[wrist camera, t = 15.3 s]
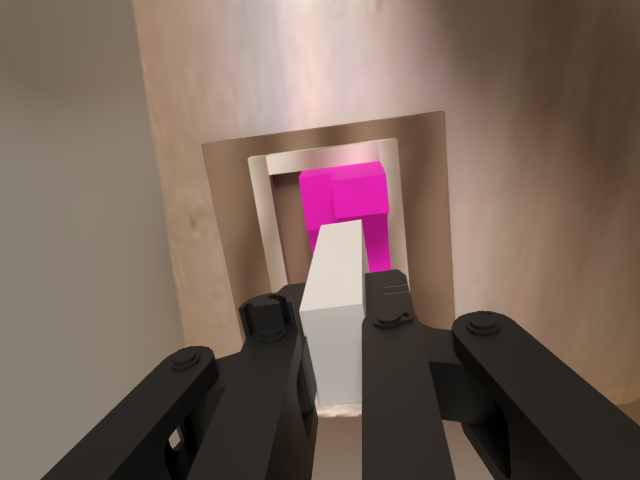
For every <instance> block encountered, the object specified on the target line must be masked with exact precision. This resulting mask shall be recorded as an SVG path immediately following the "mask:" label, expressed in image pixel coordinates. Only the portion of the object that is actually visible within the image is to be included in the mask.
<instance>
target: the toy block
mask: <svg viewBox="0 0 640 480" xmlns="http://www.w3.org/2000/svg"><path fill="white" fill-rule="evenodd" d="M299 183H300V190H301V196H302V203H303V210H304V216H305V223H306V230H307V233H308V236H309V240H310V245H311V249H312V255H314V251H315V247H316V243H317V239H318V235H319V231H320V227H321V225H327V224H334V223H341V222H347V221H354V220H362V227H363V233H364V239H365V246H366V252H367V258H368V265H369V271H370V273H371V272H379V271H386V270H391V262H390V251H389V239H388V213H389V212H390V211H389V200H388V190H387V179H386V173H385V171H384V169H383V167H382V165H381V162H380V161H375V162H368V163H360V164H352V165H344V166H336V167H328V168H321V169H313V170H305V171H302V172H301V174H300V176H299Z"/></svg>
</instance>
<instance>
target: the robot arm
mask: <svg viewBox="0 0 640 480" xmlns="http://www.w3.org/2000/svg"><path fill="white" fill-rule="evenodd" d="M238 310H239V313H240V317H241V321H242V325H243V329H244V332H245V336H246V340H245V342H244V344H243V347H242V349H241V351H240V352H238V353H235V354H232V355H229V356H226V357H222V358H219V359H216V360H215V356H214V353H213V350H211V349H210V348H209V347H205V346H190V347H186V348H183V349H180V350H178V351H177V352H175V353H173V354H171V355H170V356H168V357H167V358H166V359H164V360H163V361H162V362H161V363H160V364H159V365H158V366H157V367H156V368H155V369H154V370H153V371H152V372H151V373H150V374H148V375H147V376H146V377H145V378H144V379H143V380H142V381H141V382H140V383H139V384H138V385H137V386H136V387H135V388H134V389H133V390H132V391H131V392H130V393H129V394H128V395H127V396H126V397H125V398H124V399H123V400H122V401H121V402H120V403H119V404H118V405H117V406H116V407H115V408H114V409H112V410H111V411H110V412H109V413H108V414H107V415H106V416H105V417H104V418H103V419H102V420H101V421H100V422H99V423H98V424H97V425H96V426H95V427H94V428H93V429H92V430H91V431H90V432H89V433H88V434H87V435H86V436H85V437H84V438H83V439H82V440H81V441H80V442H79V443H77V445H76V446H74V447H73V448H72V449H71V450H70V451H69V452H68V453H67V454H66V455H65V456H64V457H63V458H62V459H61V460H60V461H59V462H58V463H57V464H56V465H55V466H54V467H53V468H52V469H51V470H50V471H49V472H48V473H47V474H46V475H45V476H43V478H41V480H311V477H312V468H313V459H314V452H315V451H314V450H315V442H316V434H317V426H318V417H317V412H316V407H315V395H316V392H317V396H318V401H319V406H329V405H340V404H350V403H361V402H362V480H456V479H455V474H454V470H453V466H452V462H451V457H450V453H449V449H448V444H447V440H446V436H445V431H444V427H443V423H442V419H443V420H449V421H456V422H461V425H462V428H463V431H464V433H465V435H466V436H467V438H468V439H469V441H470V443H471V444H472V446H473V447H474V449H475V450H476V452H477V453H478V455H479V456H480V458H481V459H482V461H483V463H484V464H485V466H486V467H487V469H488V470H489V472H490V473H491V475H492V476H493V478H494V479H495V480H640V426H639V425H638V424H636V423H635V422H634V421H633V420H632V419H630V418H629V417H628V416H627V415H626V414H625V413H623V412H622V411H621V410H620V409H619V408H617V407H616V406H615V405H614V404H613V403H611V402H610V401H609V400H608V399H607V398H605V397H604V396H603V395H602V394H601V393H599V392H598V391H597V390H596V389H595V388H593V387H592V386H591V385H590V384H589V383H588V382H586V381H585V380H584V379H583V378H582V377H580V376H579V375H578V374H577V373H576V372H574V371H573V370H572V369H571V368H570V367H568V366H567V365H566V364H565V363H564V362H562V361H561V360H560V359H559V358H558V357H556V356H555V355H554V354H553V353H552V352H551V351H549V350H548V349H547V348H546V347H545V346H543V345H542V344H541V343H540V342H539V341H537V340H536V339H535V338H534V337H533V336H531V335H530V334H529V333H528V332H527V331H525V330H524V329H523V328H522V327H521V326H519V325H518V324H517V323H516V322H515V321H514V320H512V319H511V318H509V317H507V316H505V315H503V314H499V313H495V312H491V311H486V312H485V311H477V312H472V313H468V314H465V315H462V316H460V317H458V318H457V319H456V320H455V321H454V322H453V325H452V330H446V329H438V328H433V327H429V326H426V325H424V324H422V323H421V322H420V321H419V320H418V317H417V316H416V314H415V312H414V308H413V303H412V299H411V295H410V291H409V286H408V282H407V277H406V275H405V274H404V273H402V272H401V271H400V270H398V269H394V270H386V271H379V272H371V273H370V271H369V265H368V258H367V252H366V246H365V239H364V233H363V227H362V220H354V221H347V222H341V223H334V224H327V225H321V227H320V231H319V235H318V239H317V243H316V247H315V251H314V255H313V259H312V262H311V266H310V270H309V274H308V278H307V282H305V283H297V284H289V285H285V286H283V287H282V288H281V289H280V290H279V291H278V292H277V293H267V294H263V295H259V296H256V297H254V298H251V299H249V300H247V301H246V302H244V303H243V304H242V305H241V306H240V307H239V308H238ZM175 429H177V431H178V434H179V437H180V442H179V443H178V444H177V445H176V447H174V448H173V449H172V447H171V446H170V443H169V440H168V439H169V438H170V436H171V434H172V433H173V432H174V431H175Z"/></svg>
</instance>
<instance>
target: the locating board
mask: <svg viewBox="0 0 640 480" xmlns="http://www.w3.org/2000/svg"><path fill="white" fill-rule="evenodd" d="M201 146H202V151H203V156H204V161H205V165H206V170H207V175H208V180H209V184H210V189H211V194H212V199H213V203H214V208H215V213H216V218H217V222H218V227H219V232H220V237H221V241H222V246H223V251H224V256H225V261H226V265H227V270H228V275H229V280H230V284H231V289H232V294H233V299H234V303H235V308H236V313H237V318H238V322H239V327H240V332H241V337H242V341H243V344H244V342H245V340H246V336H245V332H244V329H243V325H242V321H241V317H240V313H239V310H238V308H239V307H240V306H241V305H242V304H243V303H244V302H246V301H247V300H249V299H251V298H254V297H256V296H259V295H263V294H267V293H277V292H278V291H279V290H280V289H281V288H282V287H283V286H285V285H289V284H297V283H305V282H307V278H308V274H309V270H310V266H311V262H312V259H313V255H312V249H311V245H310V240H309V236H308V233H307V230H306V223H305V216H304V210H303V203H302V196H301V190H300V183H299V176H300V174H301V172H302V171H305V170H313V169H321V168H328V167H336V166H344V165H352V164H360V163H368V162H375V161H380V162H381V165H382V167H383V169H384V171H385V173H386V179H387V190H388V200H389V211H390V212H389V213H388V239H389V251H390V262H391V270H394V269H398V270H400V271H401V272H402V273H404V274H405V275H406V277H407V282H408V286H409V291H410V295H411V299H412V303H413V308H414V312H415V314H416V316H417V317H418V320H419V321H420V322H421V323H422V324H424V325H426V326H429V327H433V328H438V329H446V330H452V325H453V322H454V321H455V306H454V287H453V268H452V249H451V230H450V211H449V192H448V173H447V154H446V136H445V117H444V112H443V111H438V112H431V113H424V114H416V115H409V116H401V117H394V118H387V119H379V120H372V121H365V122H357V123H350V124H342V125H335V126H328V127H320V128H313V129H305V130H298V131H291V132H283V133H276V134H269V135H261V136H254V137H246V138H239V139H232V140H224V141H217V142H209V143H204V144H202V145H201Z"/></svg>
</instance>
